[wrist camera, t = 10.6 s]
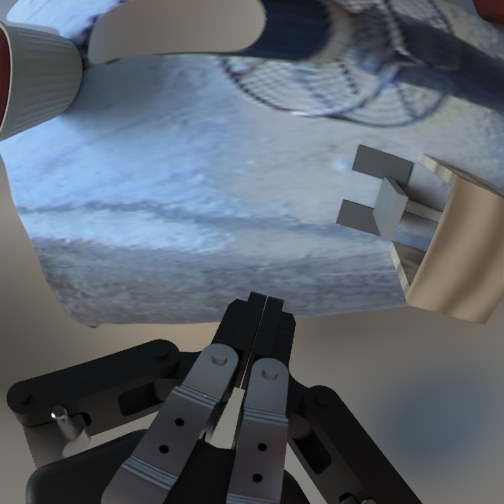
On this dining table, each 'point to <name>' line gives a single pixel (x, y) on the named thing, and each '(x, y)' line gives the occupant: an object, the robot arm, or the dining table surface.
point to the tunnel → (458, 251)
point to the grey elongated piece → (397, 208)
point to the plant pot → (490, 10)
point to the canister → (35, 78)
